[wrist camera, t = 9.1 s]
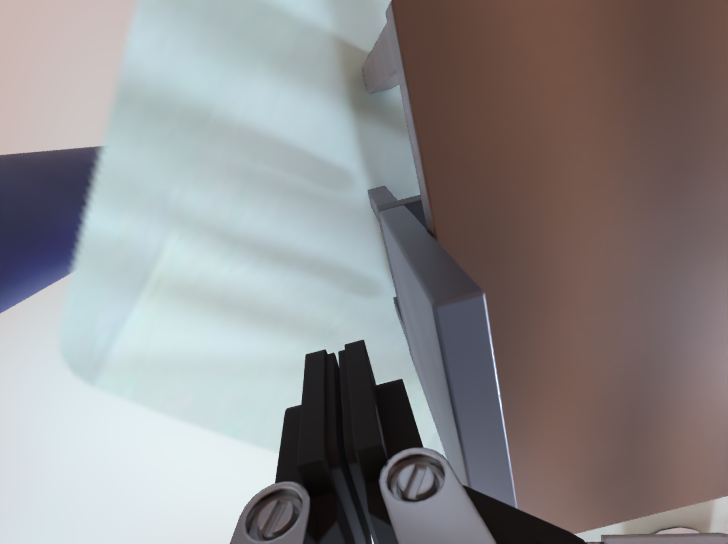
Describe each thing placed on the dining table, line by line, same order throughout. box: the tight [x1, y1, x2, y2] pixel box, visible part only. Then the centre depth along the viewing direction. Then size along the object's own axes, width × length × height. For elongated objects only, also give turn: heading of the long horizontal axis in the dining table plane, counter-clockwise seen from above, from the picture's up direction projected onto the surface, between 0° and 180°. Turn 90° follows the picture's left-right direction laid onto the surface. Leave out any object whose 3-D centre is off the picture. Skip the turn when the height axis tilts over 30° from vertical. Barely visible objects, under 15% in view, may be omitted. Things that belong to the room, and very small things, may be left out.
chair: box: [368, 186, 518, 509], centre depth 15 cm, size 7×7×14 cm
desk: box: [362, 0, 728, 534], centre depth 17 cm, size 12×18×10 cm, turn 14°
